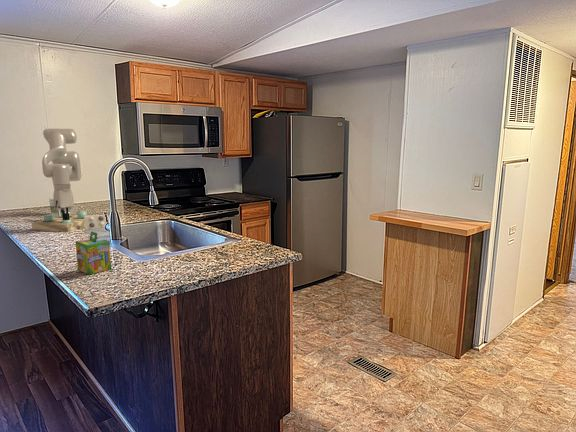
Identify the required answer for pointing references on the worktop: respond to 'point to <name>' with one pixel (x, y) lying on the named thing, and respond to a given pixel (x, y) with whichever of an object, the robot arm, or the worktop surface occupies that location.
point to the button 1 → (48, 218)
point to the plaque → (95, 221)
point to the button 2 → (81, 215)
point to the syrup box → (53, 210)
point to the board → (59, 224)
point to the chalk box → (93, 255)
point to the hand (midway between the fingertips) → (66, 219)
